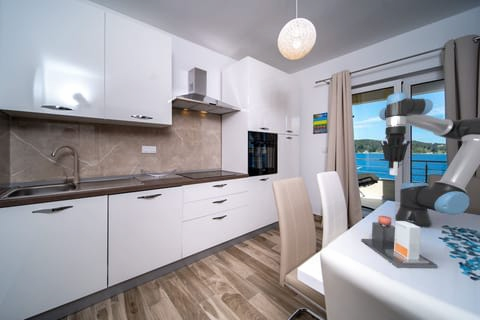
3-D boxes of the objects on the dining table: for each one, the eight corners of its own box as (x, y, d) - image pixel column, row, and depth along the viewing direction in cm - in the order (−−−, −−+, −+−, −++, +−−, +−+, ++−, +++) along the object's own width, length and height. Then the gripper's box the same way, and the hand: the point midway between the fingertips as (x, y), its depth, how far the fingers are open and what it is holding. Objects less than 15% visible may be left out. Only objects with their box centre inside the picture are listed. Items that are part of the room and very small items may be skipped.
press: (392, 241, 83) (393, 221, 83) (437, 268, 64) (438, 242, 64) (361, 241, 83) (362, 221, 83) (397, 267, 64) (398, 242, 64)
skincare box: (393, 250, 71) (394, 220, 71) (403, 250, 71) (405, 220, 71) (408, 260, 65) (409, 227, 65) (419, 259, 65) (421, 227, 65)
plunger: (384, 238, 81) (385, 215, 81) (393, 243, 77) (394, 219, 76) (374, 238, 81) (375, 215, 81) (382, 243, 77) (383, 219, 76)
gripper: (402, 127, 92) (399, 174, 93) (376, 127, 92) (374, 173, 93) (416, 125, 85) (413, 176, 86) (388, 125, 85) (386, 175, 86)
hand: (393, 174), depth 90 cm, fingers closed
